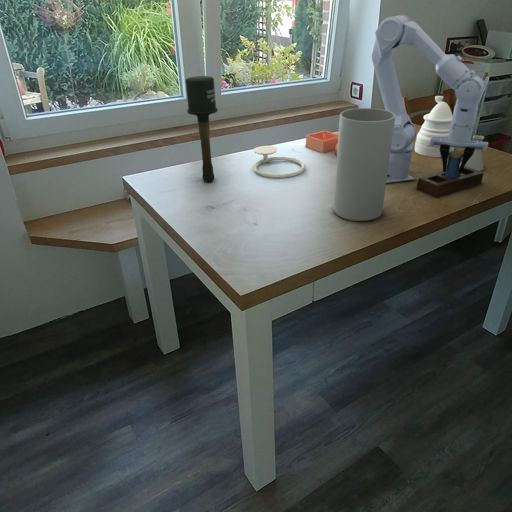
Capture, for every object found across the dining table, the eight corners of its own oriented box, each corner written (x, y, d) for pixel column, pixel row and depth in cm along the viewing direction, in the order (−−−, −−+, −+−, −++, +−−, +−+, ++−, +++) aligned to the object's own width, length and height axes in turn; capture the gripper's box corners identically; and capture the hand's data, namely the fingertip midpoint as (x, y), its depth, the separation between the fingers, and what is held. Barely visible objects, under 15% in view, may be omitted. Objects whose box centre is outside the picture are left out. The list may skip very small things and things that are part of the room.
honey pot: (406, 148, 156) (414, 96, 147) (434, 143, 161) (443, 92, 151) (433, 159, 146) (443, 104, 137) (461, 153, 151) (473, 99, 141)
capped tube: (447, 186, 125) (454, 156, 120) (439, 181, 128) (445, 151, 123) (459, 185, 125) (466, 154, 121) (451, 180, 128) (458, 150, 124)
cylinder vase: (348, 197, 122) (356, 105, 109) (390, 209, 115) (404, 112, 102) (324, 214, 114) (330, 116, 101) (368, 227, 107) (380, 124, 94)
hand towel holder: (272, 169, 131) (237, 151, 146) (272, 183, 133) (238, 164, 148) (316, 157, 138) (278, 141, 153) (315, 170, 141) (278, 153, 156)
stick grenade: (218, 186, 132) (210, 81, 116) (191, 185, 134) (179, 81, 118) (225, 176, 139) (218, 75, 123) (199, 174, 141) (189, 75, 125)
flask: (480, 173, 134) (488, 141, 129) (455, 169, 138) (462, 138, 133) (486, 166, 139) (494, 135, 134) (462, 162, 143) (469, 132, 138)
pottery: (305, 146, 162) (306, 119, 156) (324, 141, 166) (325, 115, 161) (341, 159, 149) (343, 130, 144) (360, 153, 154) (363, 125, 149)
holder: (416, 189, 126) (418, 177, 124) (460, 176, 133) (463, 165, 132) (436, 197, 121) (438, 186, 119) (480, 183, 128) (483, 172, 126)
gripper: (492, 122, 118) (480, 170, 125) (435, 118, 123) (427, 164, 130) (492, 129, 112) (479, 179, 120) (432, 124, 118) (424, 172, 125)
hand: (452, 172), depth 125 cm, fingers closed on capped tube, 3 cm apart
